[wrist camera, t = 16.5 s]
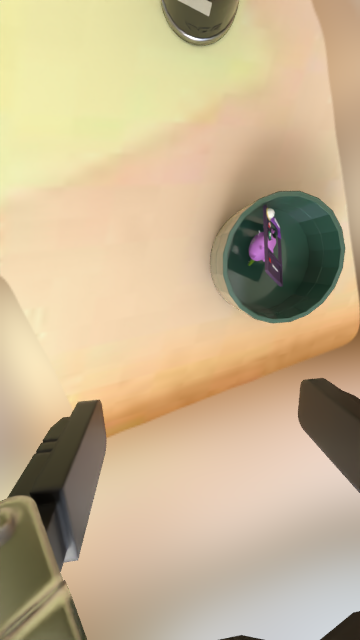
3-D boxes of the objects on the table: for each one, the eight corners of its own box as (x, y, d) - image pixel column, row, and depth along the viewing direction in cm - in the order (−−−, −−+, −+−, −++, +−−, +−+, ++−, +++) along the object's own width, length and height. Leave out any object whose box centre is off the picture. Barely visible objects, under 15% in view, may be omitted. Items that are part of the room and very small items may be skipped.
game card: (274, 269, 27) (271, 201, 29) (233, 278, 31) (232, 216, 32) (288, 285, 33) (285, 226, 34) (252, 291, 36) (250, 237, 37)
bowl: (209, 206, 34) (222, 192, 27) (314, 203, 35) (352, 189, 29) (210, 315, 38) (222, 327, 31) (305, 308, 39) (336, 318, 33)
